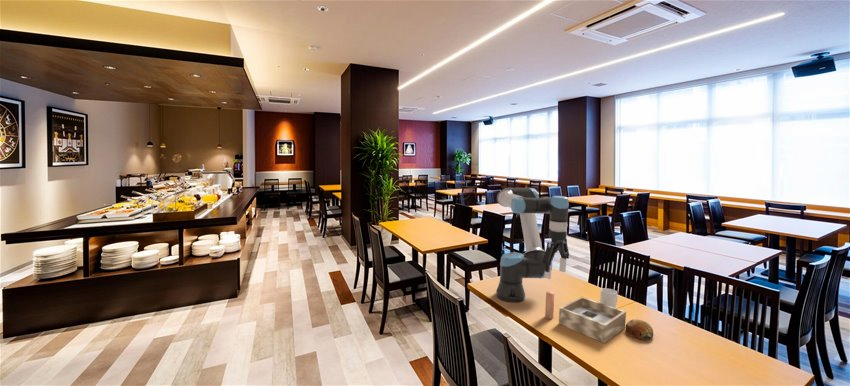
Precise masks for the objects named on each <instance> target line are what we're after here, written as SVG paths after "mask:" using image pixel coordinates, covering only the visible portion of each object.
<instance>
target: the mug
mask: <svg viewBox="0 0 850 386" xmlns="http://www.w3.org/2000/svg"><path fill="white" fill-rule="evenodd" d="M599 303H602V304H605V305H608V306H611V307H614V308H617V303H618V291H617V290H615V289H612V288H605V287H604V288H603V287H602V288H601V289H600V301H599Z"/></svg>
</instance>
